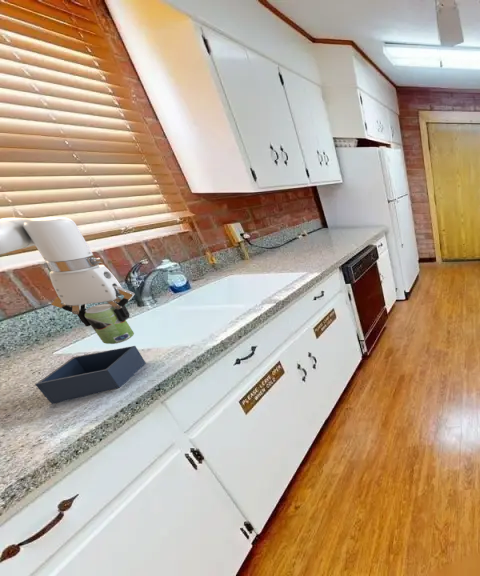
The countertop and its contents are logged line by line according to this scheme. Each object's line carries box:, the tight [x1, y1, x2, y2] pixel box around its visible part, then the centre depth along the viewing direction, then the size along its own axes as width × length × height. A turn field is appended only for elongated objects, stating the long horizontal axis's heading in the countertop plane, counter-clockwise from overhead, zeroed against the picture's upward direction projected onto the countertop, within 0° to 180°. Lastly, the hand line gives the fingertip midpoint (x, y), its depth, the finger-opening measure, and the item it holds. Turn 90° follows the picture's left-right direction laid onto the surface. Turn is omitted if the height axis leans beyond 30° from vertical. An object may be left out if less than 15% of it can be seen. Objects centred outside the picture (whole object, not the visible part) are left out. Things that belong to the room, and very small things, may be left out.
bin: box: [34, 345, 147, 405], centre depth 81 cm, size 12×12×7 cm
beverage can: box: [85, 303, 135, 345], centre depth 87 cm, size 6×7×12 cm
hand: (108, 321), depth 87 cm, fingers closed on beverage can, 6 cm apart
